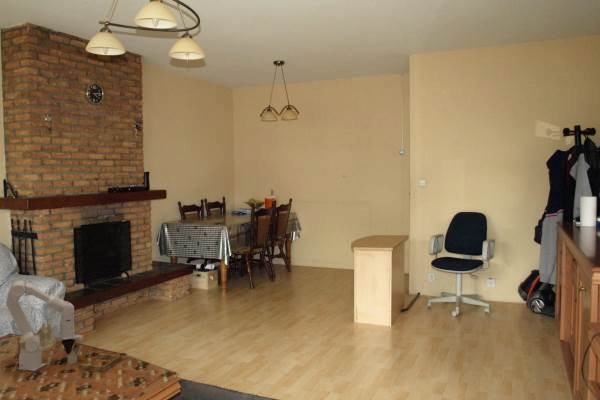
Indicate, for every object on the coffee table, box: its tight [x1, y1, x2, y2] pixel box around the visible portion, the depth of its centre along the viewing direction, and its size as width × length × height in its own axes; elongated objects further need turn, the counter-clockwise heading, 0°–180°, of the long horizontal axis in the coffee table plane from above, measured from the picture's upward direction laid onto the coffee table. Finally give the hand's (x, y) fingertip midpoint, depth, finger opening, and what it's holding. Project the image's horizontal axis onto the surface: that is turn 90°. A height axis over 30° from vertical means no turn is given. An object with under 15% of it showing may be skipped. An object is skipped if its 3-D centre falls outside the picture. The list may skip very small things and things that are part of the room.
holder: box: [78, 352, 123, 373], centre depth 238 cm, size 14×15×2 cm
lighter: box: [67, 345, 83, 366], centre depth 241 cm, size 7×2×8 cm, turn 144°
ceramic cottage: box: [18, 322, 57, 352], centre depth 262 cm, size 16×16×15 cm
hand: (68, 353), depth 242 cm, fingers closed
